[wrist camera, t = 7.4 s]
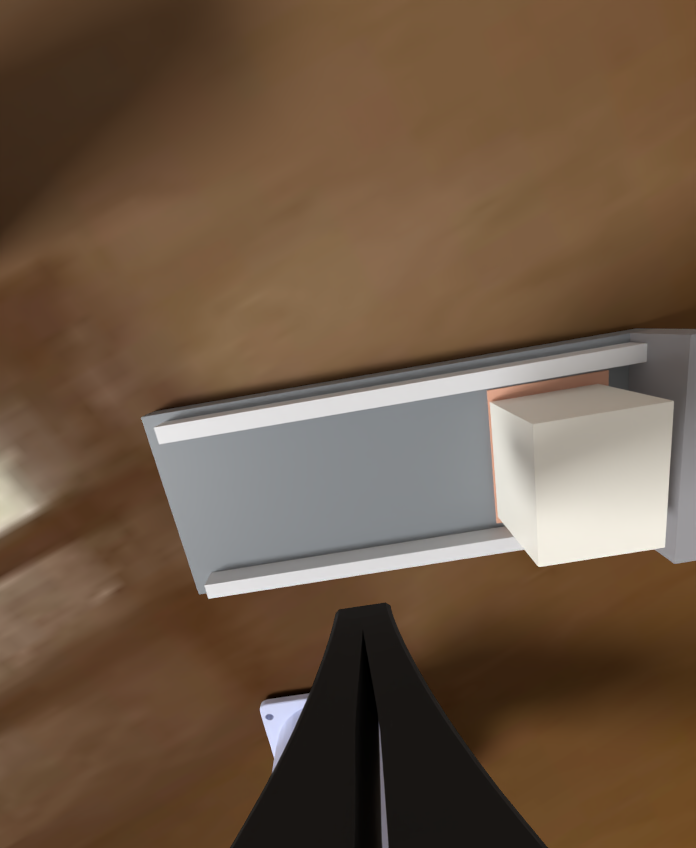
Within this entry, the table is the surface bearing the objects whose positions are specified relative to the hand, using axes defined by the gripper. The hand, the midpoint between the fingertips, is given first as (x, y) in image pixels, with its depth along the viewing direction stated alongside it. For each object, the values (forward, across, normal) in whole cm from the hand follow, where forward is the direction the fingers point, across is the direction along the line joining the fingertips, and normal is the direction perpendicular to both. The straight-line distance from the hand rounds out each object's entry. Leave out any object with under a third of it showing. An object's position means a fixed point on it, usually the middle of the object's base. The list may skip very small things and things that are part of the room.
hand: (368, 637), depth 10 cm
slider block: (+9, -9, 0) cm, 13 cm away
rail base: (+10, -3, 0) cm, 11 cm away
